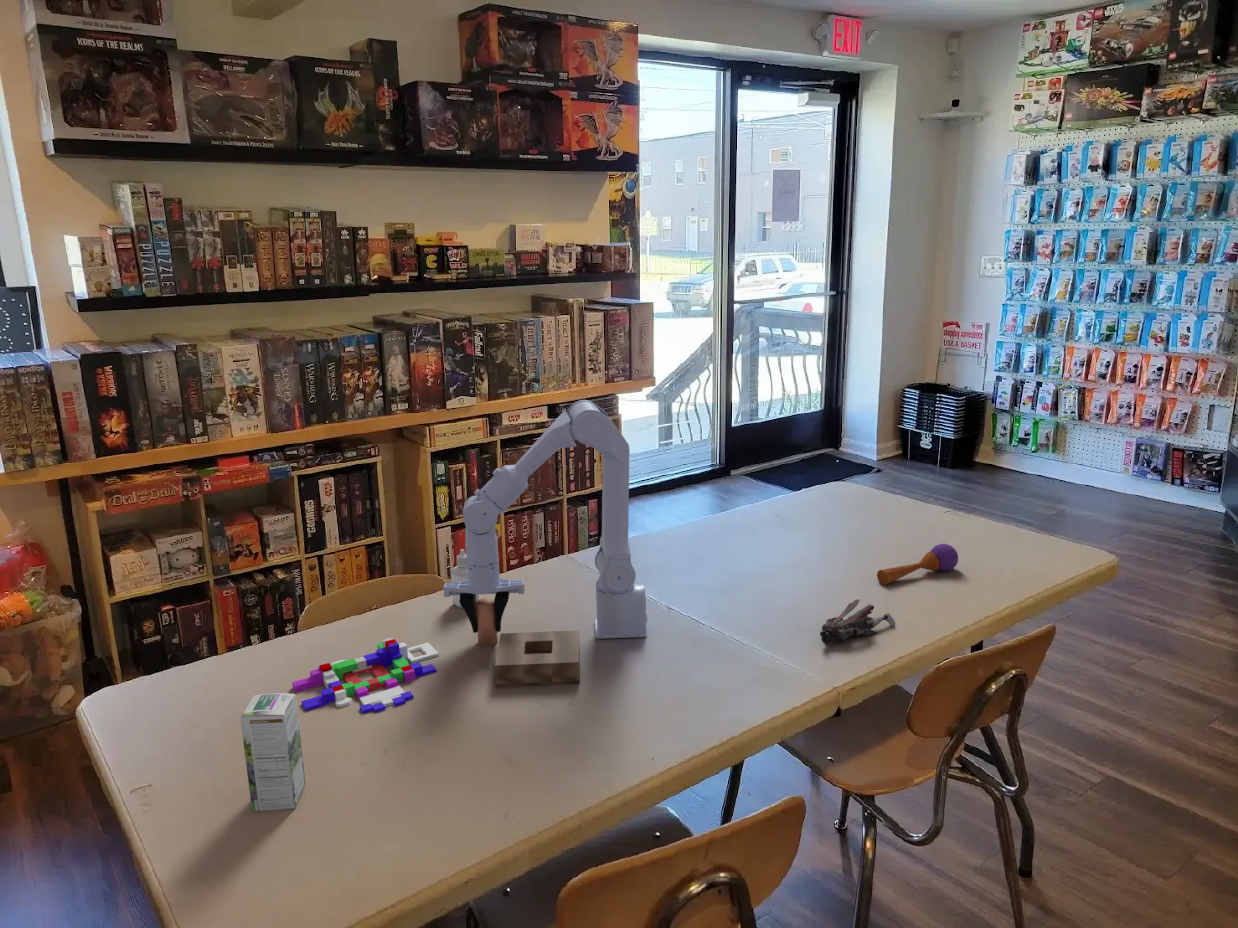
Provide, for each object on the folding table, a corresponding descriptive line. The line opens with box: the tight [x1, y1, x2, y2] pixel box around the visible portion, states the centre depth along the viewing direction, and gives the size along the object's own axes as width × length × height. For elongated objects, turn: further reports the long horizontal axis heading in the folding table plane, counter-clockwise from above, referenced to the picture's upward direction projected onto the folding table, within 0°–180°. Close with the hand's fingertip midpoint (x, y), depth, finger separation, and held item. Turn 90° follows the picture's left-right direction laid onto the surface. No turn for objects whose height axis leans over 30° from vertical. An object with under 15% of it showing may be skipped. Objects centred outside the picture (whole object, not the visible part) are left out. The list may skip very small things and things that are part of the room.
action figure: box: [819, 598, 896, 645], centre depth 167 cm, size 8×6×18 cm
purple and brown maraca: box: [876, 543, 959, 586], centre depth 193 cm, size 6×6×20 cm
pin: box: [475, 597, 499, 647], centre depth 166 cm, size 4×4×8 cm
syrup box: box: [240, 692, 306, 813], centre depth 121 cm, size 6×6×14 cm
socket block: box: [494, 630, 581, 688], centre depth 157 cm, size 14×12×4 cm
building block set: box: [291, 636, 440, 714], centre depth 154 cm, size 25×20×4 cm
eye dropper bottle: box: [450, 548, 480, 609], centre depth 182 cm, size 4×6×12 cm
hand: (487, 629), depth 167 cm, fingers closed on pin, 4 cm apart
